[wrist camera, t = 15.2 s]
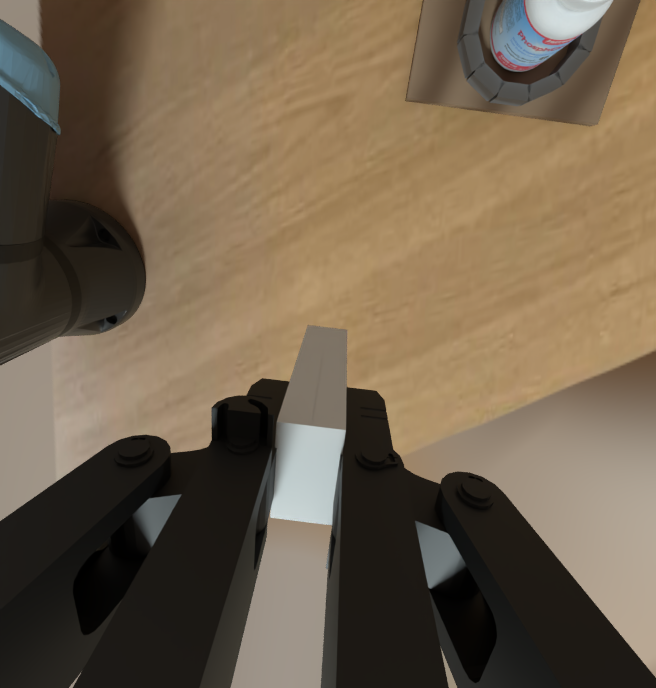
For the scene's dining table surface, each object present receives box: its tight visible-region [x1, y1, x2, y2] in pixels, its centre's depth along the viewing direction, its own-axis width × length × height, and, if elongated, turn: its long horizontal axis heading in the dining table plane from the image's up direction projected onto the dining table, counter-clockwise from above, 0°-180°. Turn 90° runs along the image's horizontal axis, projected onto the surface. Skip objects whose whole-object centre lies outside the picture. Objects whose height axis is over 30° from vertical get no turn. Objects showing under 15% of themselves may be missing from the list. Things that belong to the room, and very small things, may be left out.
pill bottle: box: [490, 0, 613, 72], centre depth 27 cm, size 6×6×11 cm
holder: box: [405, 0, 640, 126], centre depth 32 cm, size 18×12×3 cm, turn 83°
